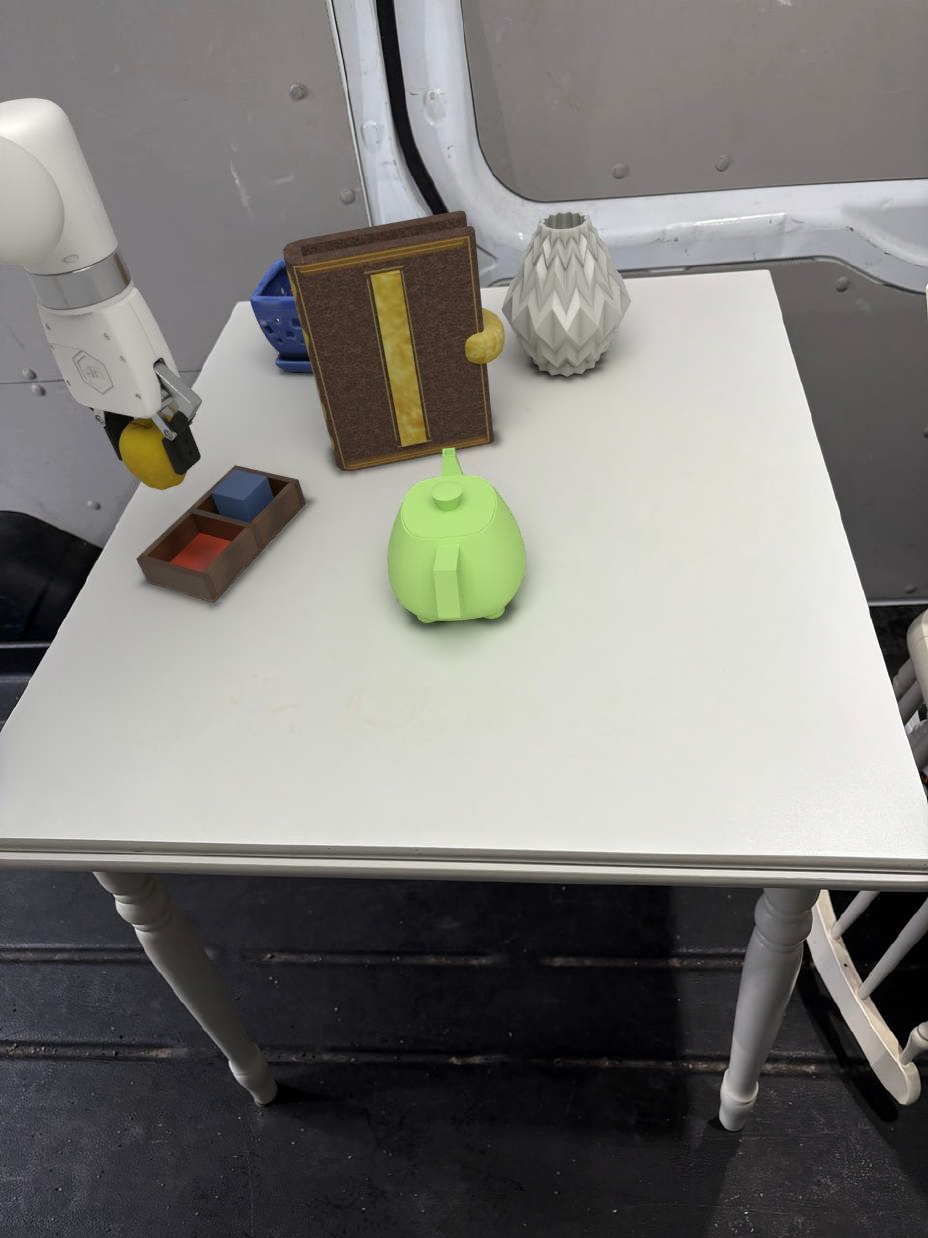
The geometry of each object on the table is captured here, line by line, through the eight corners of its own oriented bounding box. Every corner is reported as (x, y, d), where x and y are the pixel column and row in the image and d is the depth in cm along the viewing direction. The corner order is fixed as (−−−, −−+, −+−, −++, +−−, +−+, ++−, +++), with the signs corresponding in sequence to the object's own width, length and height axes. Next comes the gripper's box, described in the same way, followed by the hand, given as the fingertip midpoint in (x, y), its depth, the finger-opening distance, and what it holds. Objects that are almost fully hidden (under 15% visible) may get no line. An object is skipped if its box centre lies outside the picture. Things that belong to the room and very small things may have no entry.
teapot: (402, 529, 92) (382, 431, 83) (524, 520, 90) (517, 420, 81) (387, 667, 78) (361, 567, 69) (531, 659, 77) (524, 556, 68)
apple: (131, 506, 81) (97, 436, 75) (149, 467, 85) (118, 398, 80) (195, 501, 80) (165, 430, 75) (209, 462, 85) (183, 392, 79)
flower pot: (380, 333, 124) (365, 252, 116) (359, 379, 115) (342, 296, 107) (295, 335, 127) (275, 256, 118) (269, 381, 118) (244, 299, 109)
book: (338, 478, 99) (285, 271, 82) (332, 440, 105) (281, 238, 88) (518, 442, 101) (504, 230, 83) (502, 406, 107) (486, 201, 89)
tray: (213, 602, 86) (203, 578, 84) (147, 582, 90) (135, 558, 87) (305, 503, 97) (298, 479, 94) (243, 488, 100) (235, 464, 98)
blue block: (223, 523, 95) (210, 492, 92) (246, 500, 98) (235, 468, 94) (254, 532, 93) (243, 500, 90) (277, 508, 96) (267, 476, 93)
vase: (615, 397, 106) (620, 250, 92) (492, 388, 110) (479, 246, 97) (637, 335, 116) (644, 194, 103) (524, 328, 121) (516, 193, 107)
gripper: (-27, 287, 69) (68, 465, 82) (129, 310, 63) (206, 500, 75) (40, 249, 74) (120, 424, 86) (192, 268, 67) (254, 454, 80)
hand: (160, 458), depth 81 cm, fingers closed on apple, 6 cm apart
